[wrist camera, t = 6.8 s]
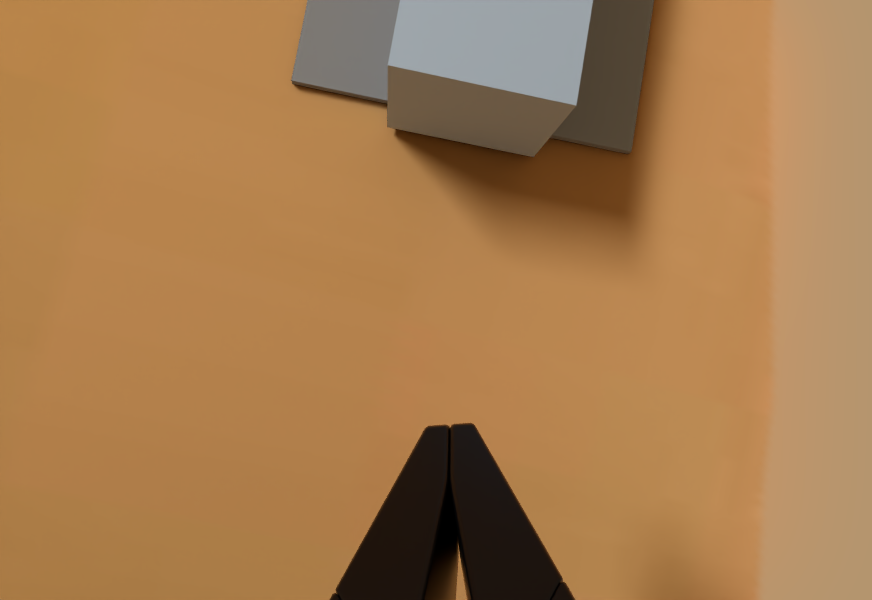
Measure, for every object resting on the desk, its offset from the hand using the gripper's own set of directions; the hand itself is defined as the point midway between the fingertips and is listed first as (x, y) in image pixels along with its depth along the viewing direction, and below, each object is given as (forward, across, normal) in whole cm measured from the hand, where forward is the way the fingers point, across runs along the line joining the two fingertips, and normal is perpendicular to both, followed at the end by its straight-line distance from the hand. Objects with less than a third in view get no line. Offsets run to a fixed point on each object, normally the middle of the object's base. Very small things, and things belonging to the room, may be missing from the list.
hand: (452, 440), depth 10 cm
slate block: (+13, -1, -2) cm, 13 cm away
